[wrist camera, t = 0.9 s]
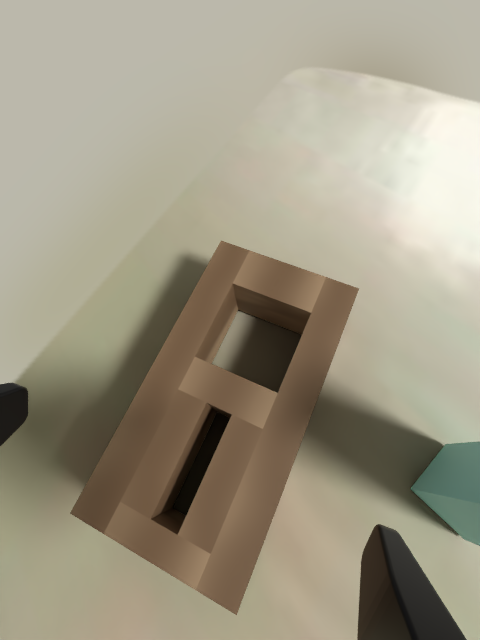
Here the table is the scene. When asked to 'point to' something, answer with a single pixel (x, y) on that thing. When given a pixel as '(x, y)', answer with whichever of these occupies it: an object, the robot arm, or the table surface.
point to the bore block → (197, 416)
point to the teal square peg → (454, 488)
